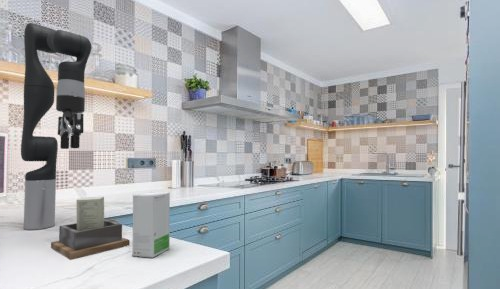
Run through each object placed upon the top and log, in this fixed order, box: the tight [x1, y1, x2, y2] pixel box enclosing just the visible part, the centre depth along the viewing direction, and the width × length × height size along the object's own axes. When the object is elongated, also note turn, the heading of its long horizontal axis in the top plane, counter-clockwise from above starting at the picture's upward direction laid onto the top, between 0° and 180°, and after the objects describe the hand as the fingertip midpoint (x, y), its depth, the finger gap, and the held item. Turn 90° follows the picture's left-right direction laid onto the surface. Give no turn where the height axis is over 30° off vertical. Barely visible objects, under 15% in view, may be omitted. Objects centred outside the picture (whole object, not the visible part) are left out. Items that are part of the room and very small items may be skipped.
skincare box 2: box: [131, 191, 171, 259], centre depth 76 cm, size 8×7×16 cm
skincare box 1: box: [76, 196, 105, 231], centre depth 82 cm, size 6×4×12 cm
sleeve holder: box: [50, 218, 130, 260], centre depth 81 cm, size 15×15×6 cm
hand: (69, 148), depth 89 cm, fingers open, 8 cm apart
